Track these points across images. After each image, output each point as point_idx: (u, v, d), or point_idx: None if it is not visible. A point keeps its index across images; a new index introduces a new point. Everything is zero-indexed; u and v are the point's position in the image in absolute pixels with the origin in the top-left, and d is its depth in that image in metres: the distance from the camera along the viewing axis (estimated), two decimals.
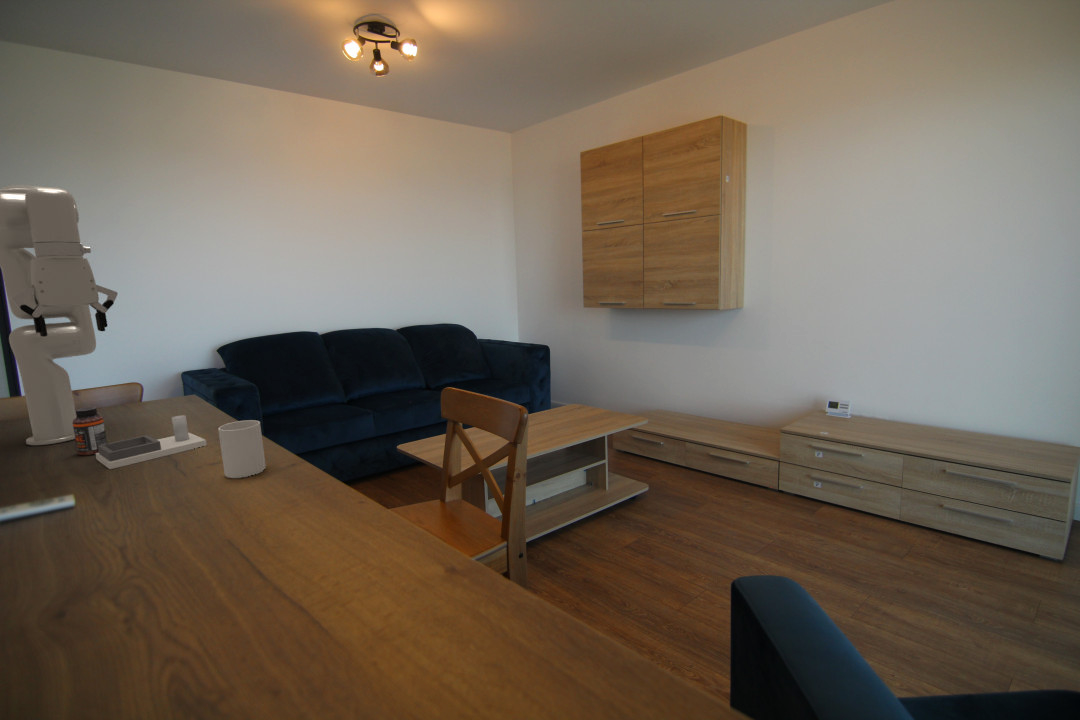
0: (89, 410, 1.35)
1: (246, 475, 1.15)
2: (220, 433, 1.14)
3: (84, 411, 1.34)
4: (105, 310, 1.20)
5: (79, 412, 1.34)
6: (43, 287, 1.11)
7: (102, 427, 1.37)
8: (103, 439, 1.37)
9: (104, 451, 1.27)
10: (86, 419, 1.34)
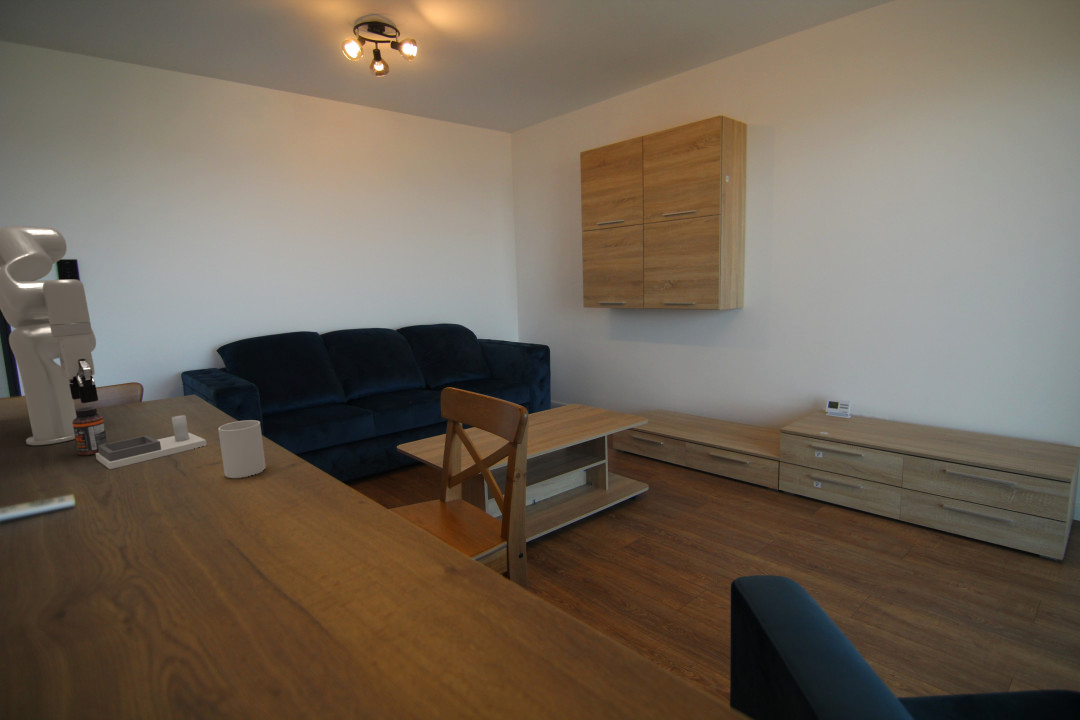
0: (89, 410, 1.35)
1: (246, 475, 1.15)
2: (220, 433, 1.14)
3: (84, 411, 1.34)
4: None
5: (79, 412, 1.34)
6: (92, 359, 1.33)
7: (102, 427, 1.37)
8: (103, 439, 1.37)
9: (104, 451, 1.27)
10: (86, 419, 1.34)
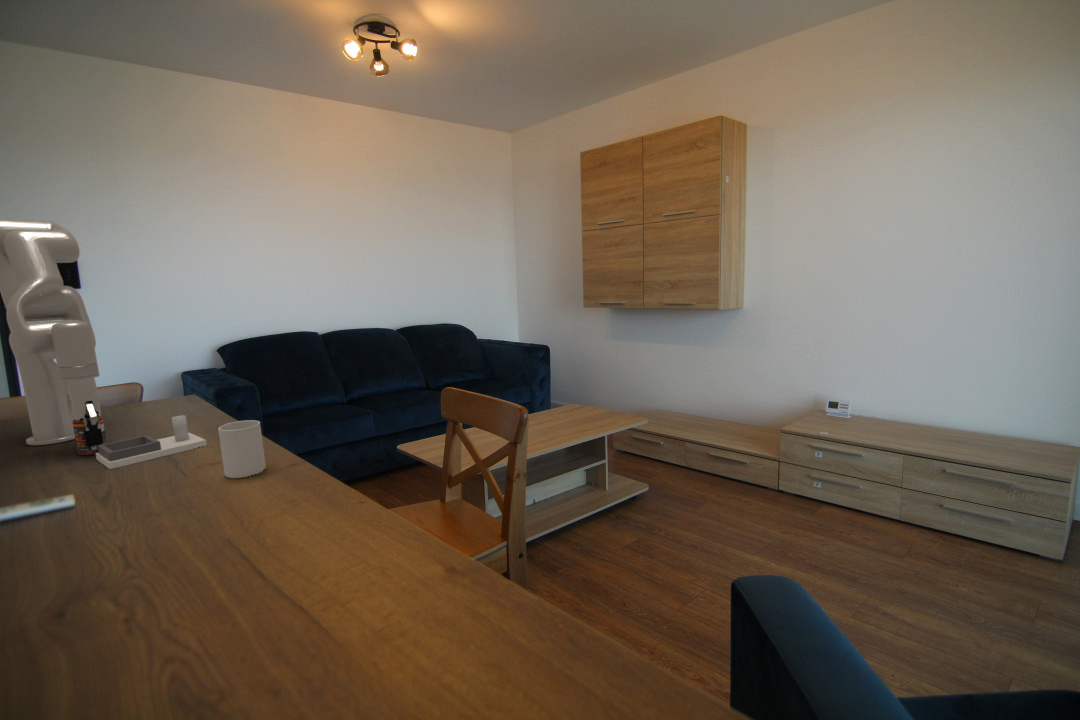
0: None
1: (246, 475, 1.15)
2: (220, 433, 1.14)
3: None
4: None
5: None
6: None
7: (102, 427, 1.37)
8: (103, 439, 1.37)
9: (104, 451, 1.27)
10: None
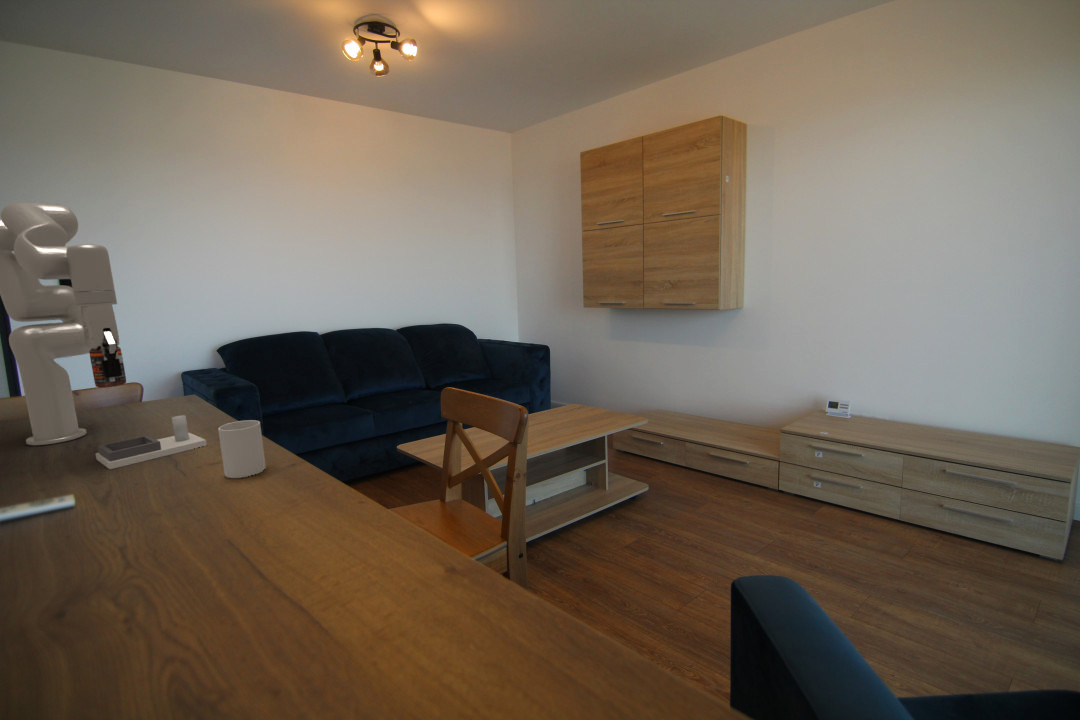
0: None
1: (246, 475, 1.15)
2: (220, 433, 1.14)
3: None
4: None
5: None
6: None
7: (120, 358, 1.29)
8: (122, 371, 1.30)
9: (104, 451, 1.27)
10: None
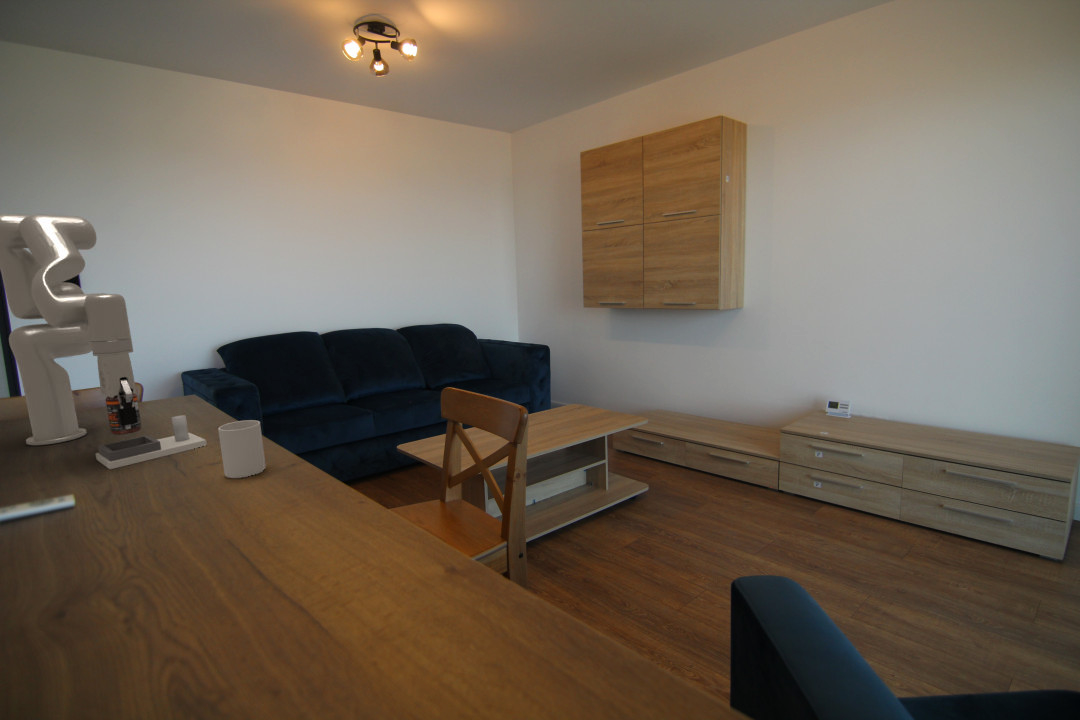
0: None
1: (246, 475, 1.15)
2: (220, 433, 1.14)
3: None
4: None
5: None
6: (133, 377, 1.28)
7: (136, 405, 1.30)
8: (137, 418, 1.31)
9: (104, 451, 1.27)
10: None
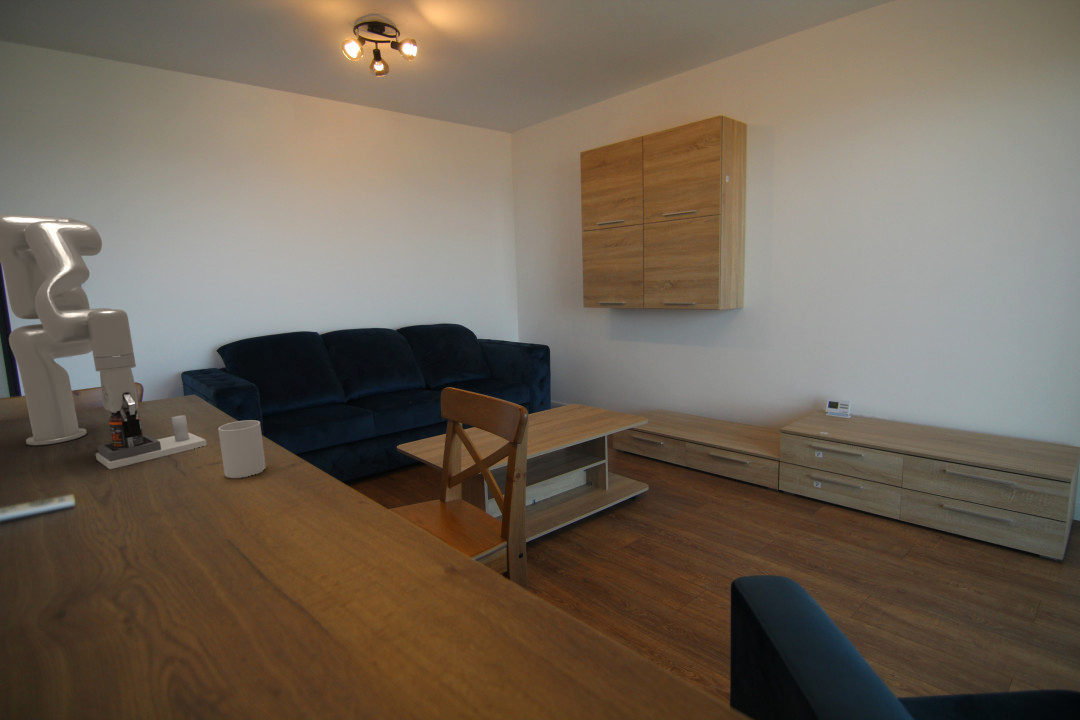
0: None
1: (246, 475, 1.15)
2: (220, 433, 1.14)
3: None
4: None
5: None
6: None
7: None
8: (140, 438, 1.31)
9: (104, 451, 1.27)
10: None
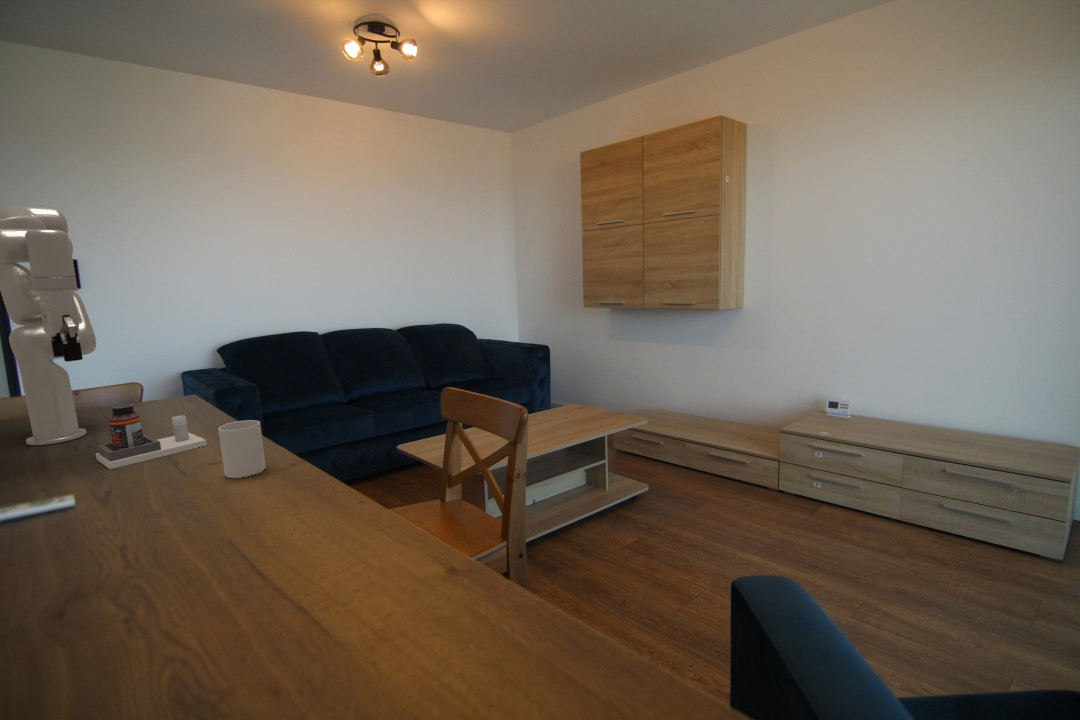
0: (126, 407, 1.29)
1: (246, 475, 1.15)
2: (220, 433, 1.14)
3: (121, 408, 1.28)
4: (65, 336, 1.32)
5: (116, 409, 1.28)
6: (77, 315, 1.26)
7: (139, 425, 1.31)
8: (140, 438, 1.31)
9: (104, 451, 1.27)
10: (123, 416, 1.28)
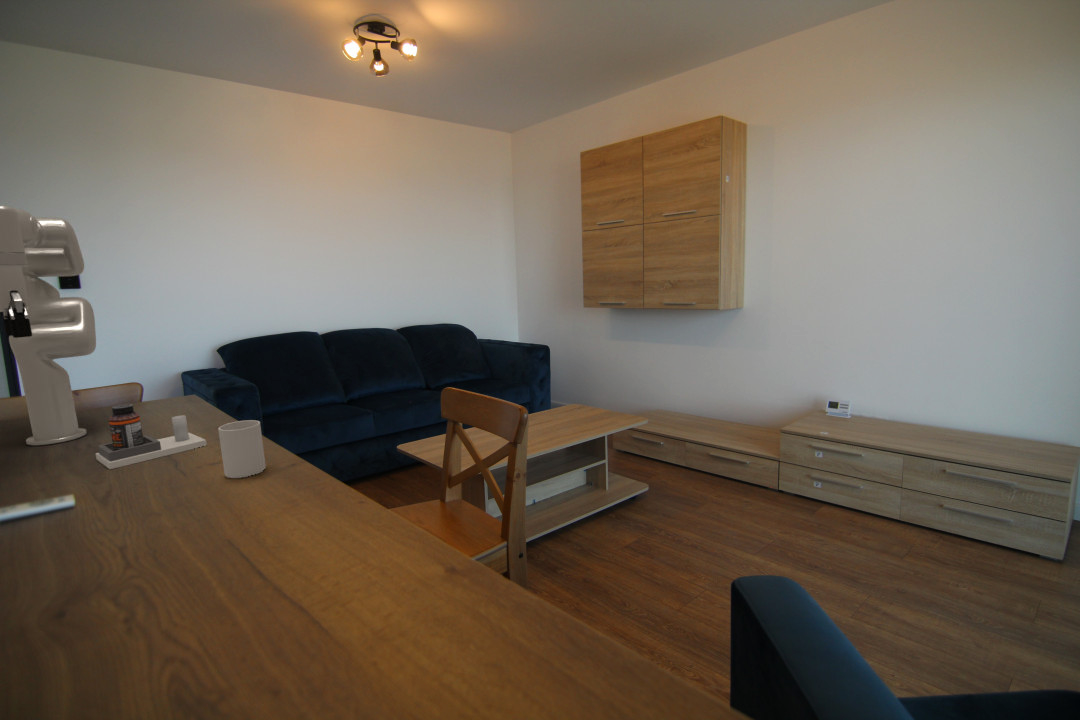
0: (126, 407, 1.29)
1: (246, 475, 1.15)
2: (220, 433, 1.14)
3: (121, 408, 1.28)
4: None
5: (116, 409, 1.28)
6: (26, 292, 1.25)
7: (139, 425, 1.31)
8: (140, 438, 1.31)
9: (104, 451, 1.27)
10: (123, 416, 1.28)
